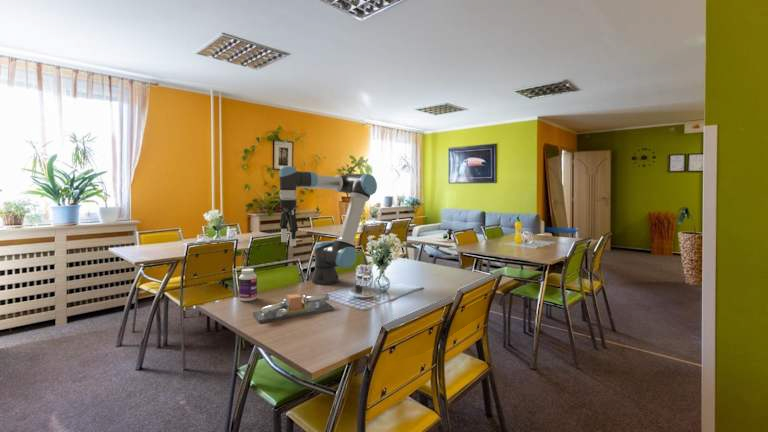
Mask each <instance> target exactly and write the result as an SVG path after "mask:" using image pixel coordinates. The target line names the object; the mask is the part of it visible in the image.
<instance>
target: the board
mask: <svg viewBox="0 0 768 432" xmlns="http://www.w3.org/2000/svg"><path fill="white" fill-rule="evenodd" d="M334 309H335V307H334V306H333V305H331V304H330V303H328V302H327V301H325V306H323V307H318V306H317V305H316V304H315V302H313V303H307V306H306V303H305V302H303V301H302V308H300V309H295V310H289V308H288V307H287V310H286V311H284V310H283V309H281V310H278V311H277V317H276V318H273V319H268V318H265V317H264V315H262V314H261V312H260V310H258V311H257V310H256V311H253V312H252V316H253V318H255V320H256V322H257V323H258V322H259V323H258V324H263V323H268V322H274V321H280V320H284V319H291V318H296V317H302V316H308V315H312V314H313V315H314V314H317V313H324V312H325V313H326V312H330V311H334Z"/></svg>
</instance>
